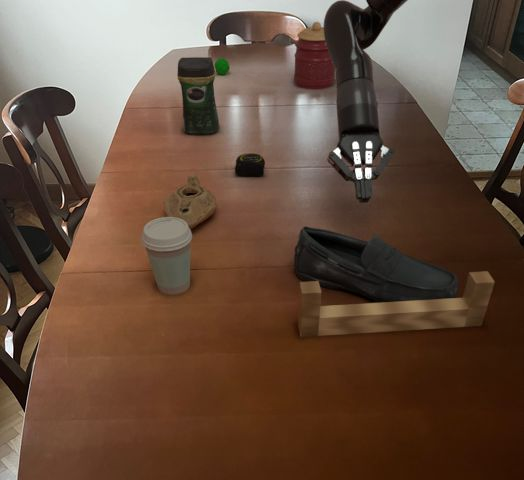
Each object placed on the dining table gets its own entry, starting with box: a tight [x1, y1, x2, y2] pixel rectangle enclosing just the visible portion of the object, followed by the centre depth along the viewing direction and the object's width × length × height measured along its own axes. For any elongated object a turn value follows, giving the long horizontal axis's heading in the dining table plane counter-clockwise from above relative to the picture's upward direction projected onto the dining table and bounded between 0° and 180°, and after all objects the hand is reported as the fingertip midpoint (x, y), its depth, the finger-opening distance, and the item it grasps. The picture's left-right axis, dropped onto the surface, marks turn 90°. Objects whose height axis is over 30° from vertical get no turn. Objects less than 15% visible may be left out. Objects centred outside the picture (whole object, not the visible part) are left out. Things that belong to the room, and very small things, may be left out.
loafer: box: [293, 226, 459, 303], centre depth 102 cm, size 10×29×10 cm, turn 71°
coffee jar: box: [177, 56, 220, 136], centre depth 155 cm, size 10×8×19 cm
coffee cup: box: [141, 216, 193, 296], centre depth 103 cm, size 8×9×12 cm
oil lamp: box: [163, 173, 217, 230], centre depth 122 cm, size 11×15×8 cm
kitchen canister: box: [293, 21, 336, 90], centre depth 183 cm, size 13×13×18 cm
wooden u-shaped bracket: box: [297, 270, 495, 338], centre depth 95 cm, size 30×3×9 cm, turn 94°
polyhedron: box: [213, 57, 230, 76], centre depth 195 cm, size 5×5×5 cm
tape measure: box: [234, 152, 266, 177], centre depth 140 cm, size 7×7×4 cm
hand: (364, 201), depth 110 cm, fingers closed
